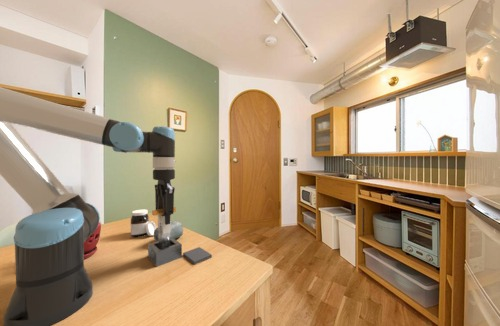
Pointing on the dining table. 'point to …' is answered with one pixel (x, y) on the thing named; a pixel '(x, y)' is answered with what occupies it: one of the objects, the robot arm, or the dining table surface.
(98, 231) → the plant pot
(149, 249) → the block
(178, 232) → the spool
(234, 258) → the dining table surface
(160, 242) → the chuck key
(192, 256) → the rest mat
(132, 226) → the spread jar
